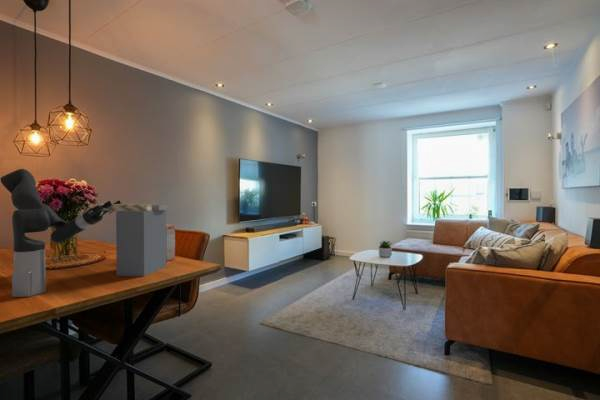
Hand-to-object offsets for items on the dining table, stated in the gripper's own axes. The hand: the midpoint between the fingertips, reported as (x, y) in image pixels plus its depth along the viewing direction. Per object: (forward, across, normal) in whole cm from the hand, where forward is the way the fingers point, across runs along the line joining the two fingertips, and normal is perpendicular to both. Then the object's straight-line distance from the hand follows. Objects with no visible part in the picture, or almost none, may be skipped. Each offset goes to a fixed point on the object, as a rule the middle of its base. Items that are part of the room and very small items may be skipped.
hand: (115, 202), depth 149 cm
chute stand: (-8, +5, +36) cm, 37 cm away
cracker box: (-12, +32, +34) cm, 48 cm away
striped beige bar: (+4, 0, +7) cm, 7 cm away
